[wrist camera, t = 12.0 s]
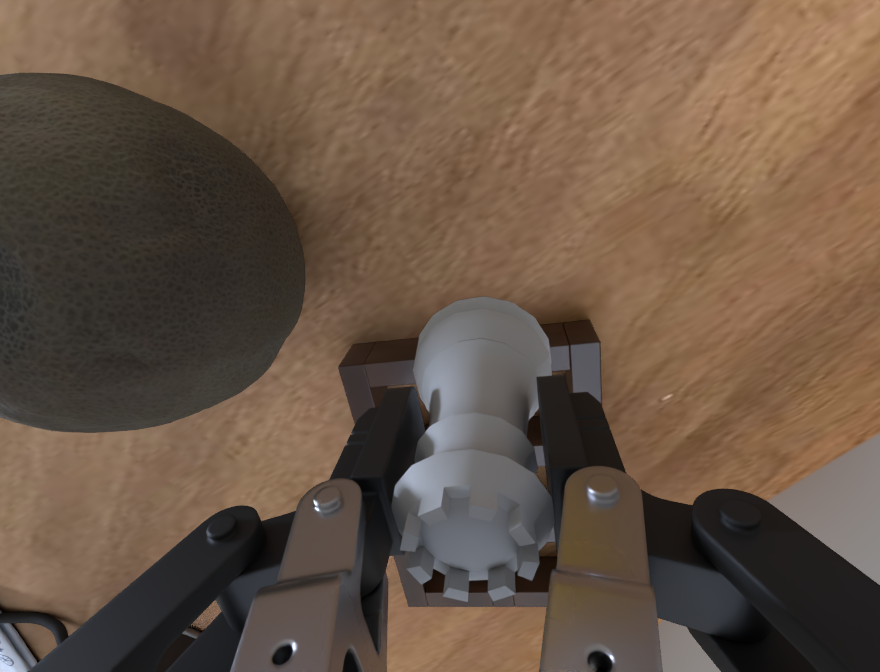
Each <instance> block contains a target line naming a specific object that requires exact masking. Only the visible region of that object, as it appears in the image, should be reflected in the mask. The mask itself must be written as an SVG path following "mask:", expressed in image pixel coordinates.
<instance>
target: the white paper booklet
mask: <svg viewBox="0 0 880 672" xmlns="http://www.w3.org/2000/svg"><path fill="white" fill-rule="evenodd" d="M0 613H2V611H1V610H0ZM36 664H37V661H36V659H35V658H34V656H33V655H32V654H31V652H30V650H29V649H28V647H27V646H26V644H25V643H24V641H23V640H22V638H21V637H20V635H19V634H18V632H17V631H16V630H15V628H14V627H13V626H12V625H11V623H0V672H28V671H29V670H30V669H31V668H33V667H34V666H35V665H36Z"/></svg>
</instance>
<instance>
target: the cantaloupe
mask: <svg viewBox="0 0 880 672" xmlns="http://www.w3.org/2000/svg"><path fill="white" fill-rule="evenodd" d="M304 291H305V264H304V256H303V250H302V245H301V242H300V239H299V235H298V232H297V228H296V226H295V223H294V221H293V219H292V216H291V214H290V212H289V210H288V208H287V206H286V204H285V202H284V200H283V199H282V197H281V195H280V193H279V192H278V190H277V189H276V187H275V186H274V185H273V183H272V182H271V181H270V180H269V179H268V177H267V176H266V175H265V174H264V173H263V172H262V171H261V170H260V169H259V168H258V166H257V165H256V164H255V163H254V162H253V161H252V160H251V159H250V158H248V157H247V156H246V155H245V154H244V153H243V152H242V151H241V150H239V149H238V148H237V147H236V146H234V145H233V144H232V143H231V142H229V141H228V140H226V139H225V138H223V137H222V136H220V135H219V134H217V133H216V132H214V131H213V130H211V129H209V128H208V127H206V126H205V125H203V124H201V123H200V122H198V121H196V120H195V119H193V118H191V117H190V116H188V115H186V114H184V113H182V112H180V111H178V110H176V109H174V108H172V107H169V106H167V105H164V104H161V103H158V102H156V101H153V100H151V99H149V98H147V97H145V96H142V95H140V94H137V93H135V92H132V91H130V90H127V89H125V88H122V87H120V86H117V85H114V84H111V83H107V82H104V81H100V80H96V79H93V78H89V77H83V76H76V75H69V74H55V73H15V74H4V75H0V417H1V418H4V419H7V420H10V421H13V422H16V423H20V424H24V425H28V426H32V427H36V428H41V429H46V430H51V431H61V432H84V433H96V432H113V431H127V430H138V429H144V428H149V427H155V426H159V425H163V424H167V423H171V422H173V421H176V420H178V419H181V418H184V417H187V416H190V415H192V414H195V413H198V412H200V411H202V410H203V409H207V408H210V407H212V406H214V405H216V404H218V403H220V402H222V401H224V400H227V399H229V398H231V397H233V396H235V395H237V394H239V393H240V392H242V391H243V390H245V389H246V388H247V387H249V386H250V385H251V384H253V383H254V382H255V381H256V380H258V379H259V378H260V377H261V376H262V375H263V374H264V373H265V372H266V371H267V370H268V369H269V367H270V366H271V364H272V363H273V361H274V359H275V358H276V356H277V354H278V352H279V350H280V349H281V347H282V345H283V343H284V341H285V339H286V338H287V337H288V336H289V334H290V333H291V331H292V330H293V328H294V327H295V325H296V323H297V321H298V319H299V316H300V313H301V309H302V304H303V298H304Z"/></svg>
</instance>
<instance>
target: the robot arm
mask: <svg viewBox="0 0 880 672" xmlns="http://www.w3.org/2000/svg"><path fill="white" fill-rule="evenodd" d="M536 381H537V392H538V404H539V415H540V426H541V436H542V445H543V453H544V460H545V467H546V475H547V482H548V489H549V494H550V495H551V497H552V502H553V509H554V521H555V523H554V534H555V541H556V548H557V553H558V557H557V566H556V569H553V570H552V572H551V577H550V583H549V591H548V600H547V609H546V617H545V626H544V634H543V643H542V651H541V660H540V669H539V672H663V670H662V660H661V650H660V640H659V630H658V620H657V618H660V619H663V620H666V621H670V622H673V623H676V624H679V625H683V626H686V627H687V628H688V630H689V632H690V633H691V634H692V636H693V637H694V638H695V640H696V641H697V642H698V643H699V645H700V646H701V647H702V649H703V650H704V651H705V652H706V654H707V655H708V656H709V657H710V658H711V660H712V661H713V662H714V664H715V665H716V666H717V667H718V668H719V669H720V671H721V672H880V585H878V584H877V583H876V582H874V581H873V580H872V579H870V578H869V577H868V576H866V575H865V574H864V573H862V572H861V571H860V570H858V569H857V568H856V567H854V566H853V565H852V564H850V563H849V562H848V561H846V560H845V559H844V558H842V557H841V556H840V555H838V554H837V553H836V552H834V551H833V550H832V549H830V548H829V547H828V546H826V545H825V544H824V543H822V542H821V541H820V540H818V539H817V538H816V537H814V536H813V535H812V534H810V533H809V532H808V531H806V530H805V529H804V528H802V527H801V526H800V525H798V524H797V523H796V522H794V521H793V520H791V519H790V518H789V517H788V516H786V515H785V514H784V513H782V512H781V511H779V510H778V509H777V508H775V507H774V506H773V505H771V504H770V503H769V502H767V501H765V500H763V499H762V498H760V497H758V496H755V495H753V494H750V493H747V492H744V491H739V490H734V489H714V490H710V491H706V492H704V493H702V494H701V495H699V496H698V497H697V498H696V500H695V501H694V503H693V505H688V504H683V503H678V502H673V501H668V500H664V499H660V498H657V497H655V496H652V495H650V494H648V493H646V492H644V491H643V490H641V489H640V487H639V485H638V484H637V483H636V481H635V480H634V479H633V478H632V477H630V476H629V475H627V474H626V472H625V469H624V466H623V463H622V461H621V458H620V455H619V452H618V450H617V447H616V444H615V441H614V439H613V436H612V433H611V430H610V429H609V425H608V422H607V419H606V418H605V414H604V411H603V408H602V406H601V403H600V402H599V401H598V400H597V399H596V398H594V397H593V396H592V395H591V394H590V393H589V392H577V393H569V390H568V386H567V382H566V378H565V375H564V374H563V375H551V376H539V377H536ZM424 433H425V428H424V423H423V418H422V414H421V409H420V405H419V400H418V395H417V392H416V389H415V387H403V388H390V389H387V390H386V392H385V395H384V397H383V399H382V402H381V404H380V407H375V408H369V409H368V410H367V411H366V412H365V413H364V414H363V415H362V416H361V417H360V418H359V419H358V420H357V422H356V424H355V426H354V428H353V430H352V435H350V437H349V439H348V441H347V445H346V446H345V447H344V449H343V452H342V454H341V456H340V458H339V460H338V462H337V464H336V466H335V469H334V471H333V473H332V475H331V477H330V479H329V480H328V481H325V482H322V483H320V484H318V485H316V486H315V487H313V488H312V489H310V490H309V491H308V492H307V493H306V494H305V495H304V496H303V497H302V498H301V500H300V501H299V503H298V506H297V509H296V511H294V512H291V513H288V514H285V515H281V516H278V517H274V518H271V519H268V520H264V521H261V520H260V517H259V515H258V513H257V511H256V510H255V509H254V508H252V507H249V506H234V507H230V508H227V509H224V510H222V511H220V512H218V513H216V514H214V515H213V516H211V517H210V518H208V519H207V520H206V521H204V522H203V523H202V524H201V525H200V526H198V527H197V528H196V529H195V530H194V531H193V532H191V533H190V534H189V535H188V536H187V537H185V538H184V539H183V540H182V541H181V542H180V543H178V544H177V545H176V546H175V547H174V548H173V549H171V550H170V551H169V552H168V553H167V554H165V555H164V556H163V557H162V558H161V559H160V560H158V561H157V562H156V563H155V564H154V565H153V566H151V567H150V568H149V569H148V570H147V571H145V572H144V573H143V574H142V575H141V576H140V577H138V578H137V579H136V580H135V581H134V582H133V583H131V584H130V585H129V586H128V587H127V588H125V589H124V590H123V591H122V592H121V593H120V594H118V595H117V596H116V597H115V598H114V599H113V600H111V601H110V602H109V603H108V604H107V605H105V606H104V607H103V608H102V609H101V610H100V611H98V612H97V613H96V614H95V615H94V616H93V617H91V618H90V619H89V620H88V621H87V622H85V623H84V624H83V625H82V626H81V627H80V628H78V629H77V630H76V631H75V632H74V633H73V634H71V635H70V636H68V633H67V630H66V627H65V626H64V624H63V623H62V622H61V621H59V620H57V619H56V618H54V617H52V616H49V615H47V614H43V613H38V612H2V613H0V623H33V624H38V625H42V626H44V627H46V628H47V629H49V630H51V631H52V632H53V634H54V636H55V639H56V643H57V647H56V648H55V649H54V650H53V651H51V652H50V653H49V654H48V655H47V656H45V657H44V658H43V659H42V660H41V661H40V662H38V663H37V664H36V665H35V666H34V667H33V668H31V669H30V670H29V671H28V672H387V619H388V578H387V574H386V567H387V563H388V559H389V556H396V555H405V551H402V550H400V547H401V542H402V535H401V534H400V532H399V531H398V528H397V525H396V522H395V518H394V515H393V512H392V507H391V505H392V499H393V494H394V488H395V485H396V483H397V482H398V481H399V480H400V479H401V477H402V476H403V475H404V474H405V473H406V471H407V470H408V469H409V468H410V467H411V465H413V464H415V461H414V458H415V453H416V448H417V443H418V441H419V439H420V438H421V437H422V436H423V434H424ZM214 600H216V602H217V603H218V605H219V607H220V609H221V611H222V612H221V613H220V614H219V615H218V616H217V617H216V618H215V619H214V620H213V621H212V623H211V624H210V625H209V626H208V627H207V628H206V629H205V630H204V631H203V632H202V633H201V632H199V631H197V630H194V629H191V628H189V626H190V625H191V624H192V623H193V622H194V621H195V620H196V619H197V618H198V617H199V616H200V615H201V614H202V613H203V612H204V611H205V610H206V608H207V607H208V606H209V605H210V604H211V603H212V602H213V601H214Z"/></svg>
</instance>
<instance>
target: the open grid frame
mask: <svg viewBox="0 0 880 672" xmlns="http://www.w3.org/2000/svg"><path fill="white" fill-rule="evenodd" d="M540 326H541V328H542V330H543V331H544V333H545V334H546V336H547V337H548V339H549V347H550V354H551V362H552V363H551V371H563V370H565V371H566V382H567V386H568V390H569V393H577V392H589V393H590V394H591V395H592V396H593V397H594V398H596V399H597V400H598V401H599V402H600V403H601V406H602V387H601V347H600V340H599V338H598V336H597V334H596V332H595V330H594V327H593V325H592V323H591V321H590V320H584V321H575V322H565V323H563V324H562V323H556V324H546V325H540ZM418 340H419V338H410V339H401V340H391V341H382V342H372V343H363V344H353V345H352V346H351V348H350V349H349V351H348V352H347V354H346V356H345V357H344V359H343V360H342V362H341V363H340V365H339V366H338V368H339V372H340V375H341V379H342V382H343V385H344V389H345V392H346V396H347V399H348V402H349V406H350V409H351V413H352V416H353V419H354V423H355V424H356V422H357V420H358V419H359V418H360V417H361V416H362V415H363V414H364V413H365V412H366V411H367V410H368V409H369V408H375V407H380V404H381V402H382V399H383V397H384V395H385V392H386V390H387V386H394V385H405V384H416V381H415V377H414V372H413V368H414V362H415V357H416V351H417V346H418ZM424 428H425V432H426V431H427V429H428V428H429V424H428V425H424ZM526 437H527V439H528V440H529V441H530V443H531V444H532V446H533V447H534V448H535V454H536V460H537V466H545V460H544V453H543V445H542V436H541V426H540V417H531V418H530V420H529V421H528V429H527V436H526ZM547 542H556V541H555V534H554V526H553V528H552V531H551V533H550V536H549V538H548V540H547ZM409 553H410V551H405V555H396V556H394V559H395V562H396V565H397V569H398V572H399V576H400V579H401V582H402V586H403V589H404V593H405V596H406V599H407V603H408V606H409V607H428V606H429V607H493V606H494V607H514V606H515V607H547V600H548V591H549V583H550V577H551V572H552V570H553V569H556V566H557V557H539V565H538V568H537V570H536V573H535V575H534V577H533V580H532V581H531V580H529V579H526V578H524V577H521V576H518V573H517V571H516V572H515V588H516V594H515V595H511V596H508V597H505V598H502V599H499V600H496V601H493V600H492V598H491V597H490V595H489V593H488V580H471V581H469V591H468V602H465V601H461V600H456V599H452V598H448V597H443V590H444V582H445V575H444V574H443V573H441V572H439V571H437V570H435V569H433V573H432V579H430V580H429V581H427V582H425V583H424V584H422V585H421V584H420V583H419V582H418V581H417V580H416V579H415V578H414V577H413V575H412V574H411V573H410V572H409V571H408V570H407V569H406V567H407V563H408V558H409Z"/></svg>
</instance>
